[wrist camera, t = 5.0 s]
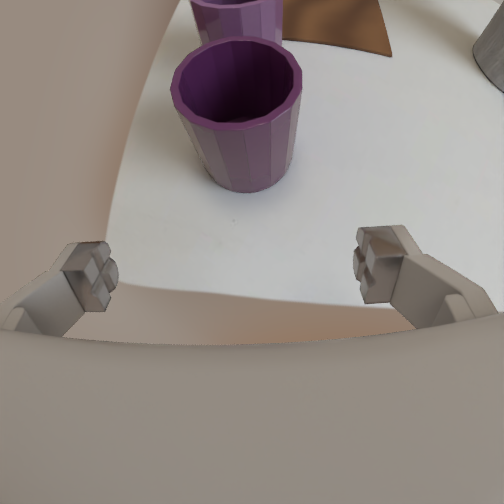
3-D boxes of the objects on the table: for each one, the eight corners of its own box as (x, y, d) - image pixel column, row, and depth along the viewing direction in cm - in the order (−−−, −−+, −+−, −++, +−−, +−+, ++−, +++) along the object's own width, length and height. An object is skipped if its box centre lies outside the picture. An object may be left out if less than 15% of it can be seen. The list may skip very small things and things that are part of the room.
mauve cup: (193, 62, 27) (170, -10, 17) (248, 30, 27) (241, -41, 17) (239, 99, 26) (226, 19, 16) (296, 62, 26) (303, -14, 16)
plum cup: (187, 151, 25) (148, 81, 15) (252, 102, 26) (243, 22, 16) (242, 211, 24) (224, 157, 14) (309, 156, 25) (329, 81, 15)
